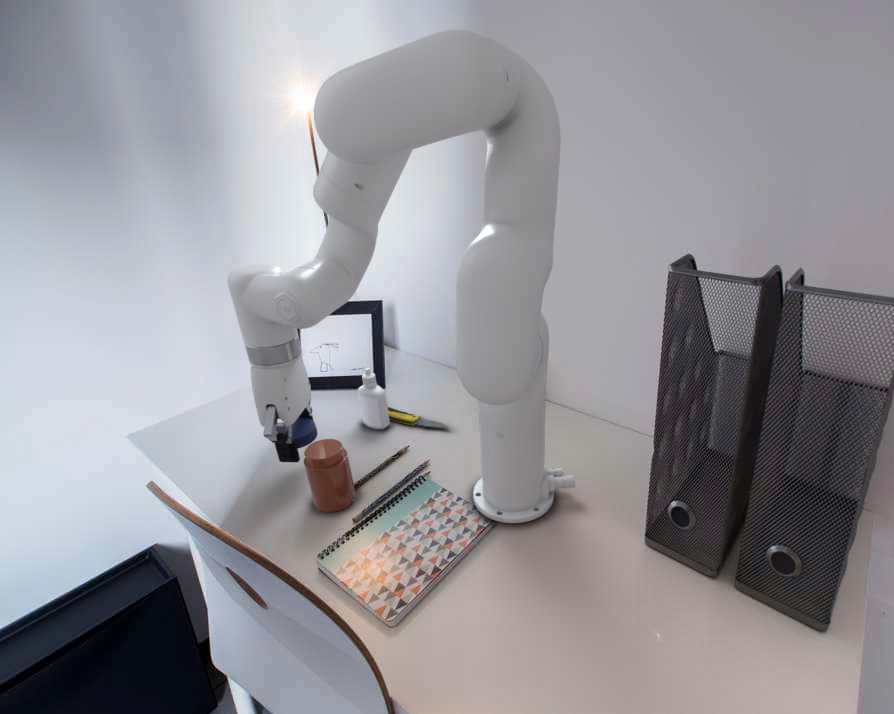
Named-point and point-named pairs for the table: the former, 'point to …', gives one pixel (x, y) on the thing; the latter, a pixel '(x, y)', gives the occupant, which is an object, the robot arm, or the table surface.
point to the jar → (329, 475)
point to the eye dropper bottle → (373, 402)
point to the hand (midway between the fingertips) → (298, 447)
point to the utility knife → (412, 419)
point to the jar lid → (302, 431)
